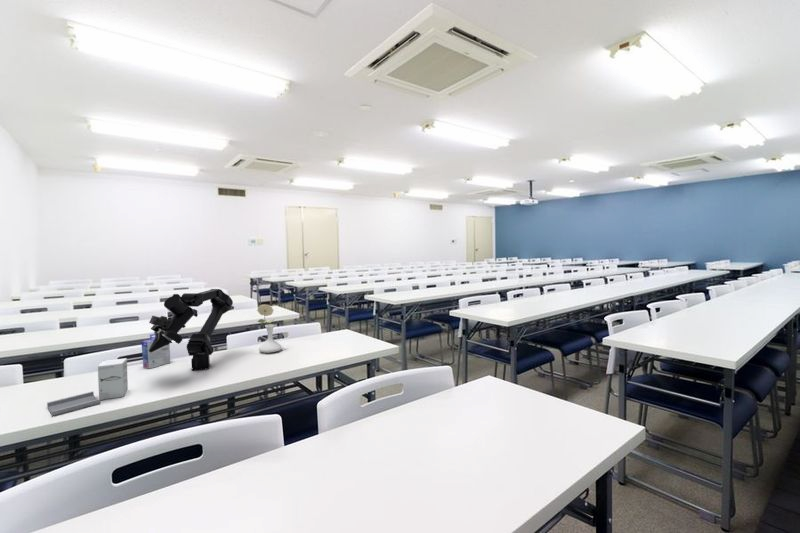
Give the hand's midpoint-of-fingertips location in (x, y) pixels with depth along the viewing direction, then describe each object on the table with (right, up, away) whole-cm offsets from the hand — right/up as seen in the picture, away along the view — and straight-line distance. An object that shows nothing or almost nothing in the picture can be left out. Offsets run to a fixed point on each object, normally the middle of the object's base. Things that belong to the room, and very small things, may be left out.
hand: (149, 351), depth 138 cm
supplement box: (-7, -14, -8) cm, 18 cm away
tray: (-14, -15, -17) cm, 26 cm away
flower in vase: (+30, -11, +46) cm, 56 cm away
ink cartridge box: (-14, -12, +25) cm, 31 cm away
